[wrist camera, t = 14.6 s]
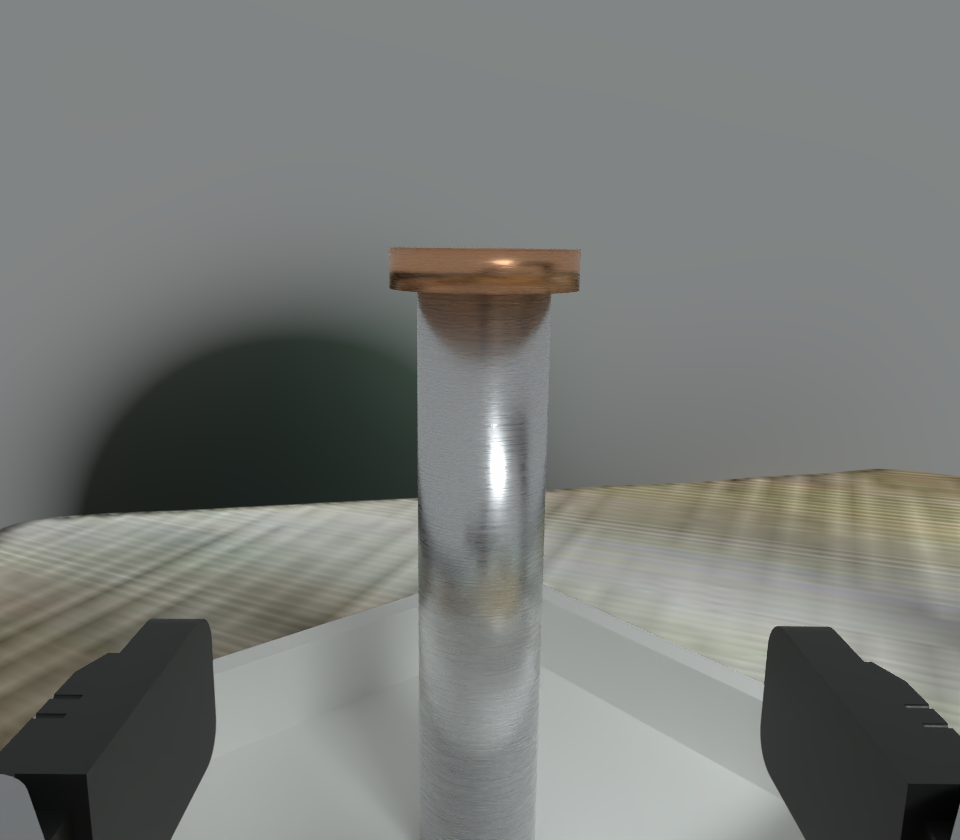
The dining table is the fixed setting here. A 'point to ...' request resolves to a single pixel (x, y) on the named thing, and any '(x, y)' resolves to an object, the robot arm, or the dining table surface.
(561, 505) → the dining table surface
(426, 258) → the lock pin
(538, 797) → the tray
